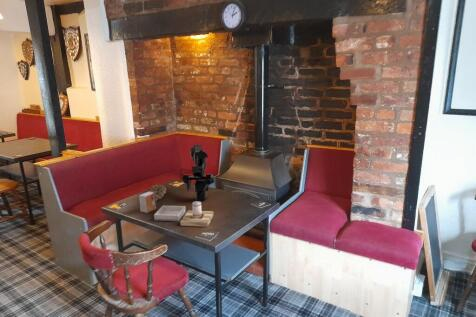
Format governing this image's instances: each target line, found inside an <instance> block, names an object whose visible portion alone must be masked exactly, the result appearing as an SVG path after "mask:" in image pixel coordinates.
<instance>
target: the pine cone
mask: <svg viewBox="0 0 476 317" xmlns="http://www.w3.org/2000/svg"><path fill="white" fill-rule="evenodd" d="M148 191H149V192H153V193H155V201H156V202H157V201H158V200H161V199H162V197H164V195H165V194H166V192H167V187H166V186H165V185H164V184H155V185H153V186H151V188H150V190H148ZM138 200H139V197H138Z"/></svg>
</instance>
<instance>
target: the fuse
mask: <svg viewBox="0 0 476 317" xmlns="http://www.w3.org/2000/svg"><path fill="white" fill-rule="evenodd" d="M191 208H192V210H191V211H193V219H202V211H203V210H202V201H197V200H195V201H193V202H192V203H191Z"/></svg>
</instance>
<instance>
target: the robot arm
mask: <svg viewBox="0 0 476 317" xmlns="http://www.w3.org/2000/svg"><path fill="white" fill-rule="evenodd" d="M208 157H209V155H208V154H207V153H206V151H205V150H204V148H203V147H202V145H201V144H194V145H193V146H192V148H190V158H191V160H192V161H193V162H194V165H193V166H191V171H190V172H191V173H192V176H190V174H183V175H182V176H181V179H182V181H183V183H184V184H186V188H187V192H189V191H190V190H191V185H192V181H194V184H193V188H194V192H195V193H196V198H195V199H194V200H195V201H199V202H205V201H206V200H207V199H208V197H207V195H206V192H208V191H209V187H210V185H212V184H214V183H215V180H216V179H215V176H214V174H213V173H206V168H207V159H208Z"/></svg>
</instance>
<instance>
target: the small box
mask: <svg viewBox="0 0 476 317" xmlns="http://www.w3.org/2000/svg"><path fill="white" fill-rule="evenodd" d="M138 198H139V199H138V200H139V208H140V209H139V210H140V212H141V213H147V214H148V213H149V212H152V211H154V210H156V209H157V201H155V193H153V192H150V191H149V190H148V191H147V192H146V191H145V192H143V193H141V194H139V195H138Z"/></svg>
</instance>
